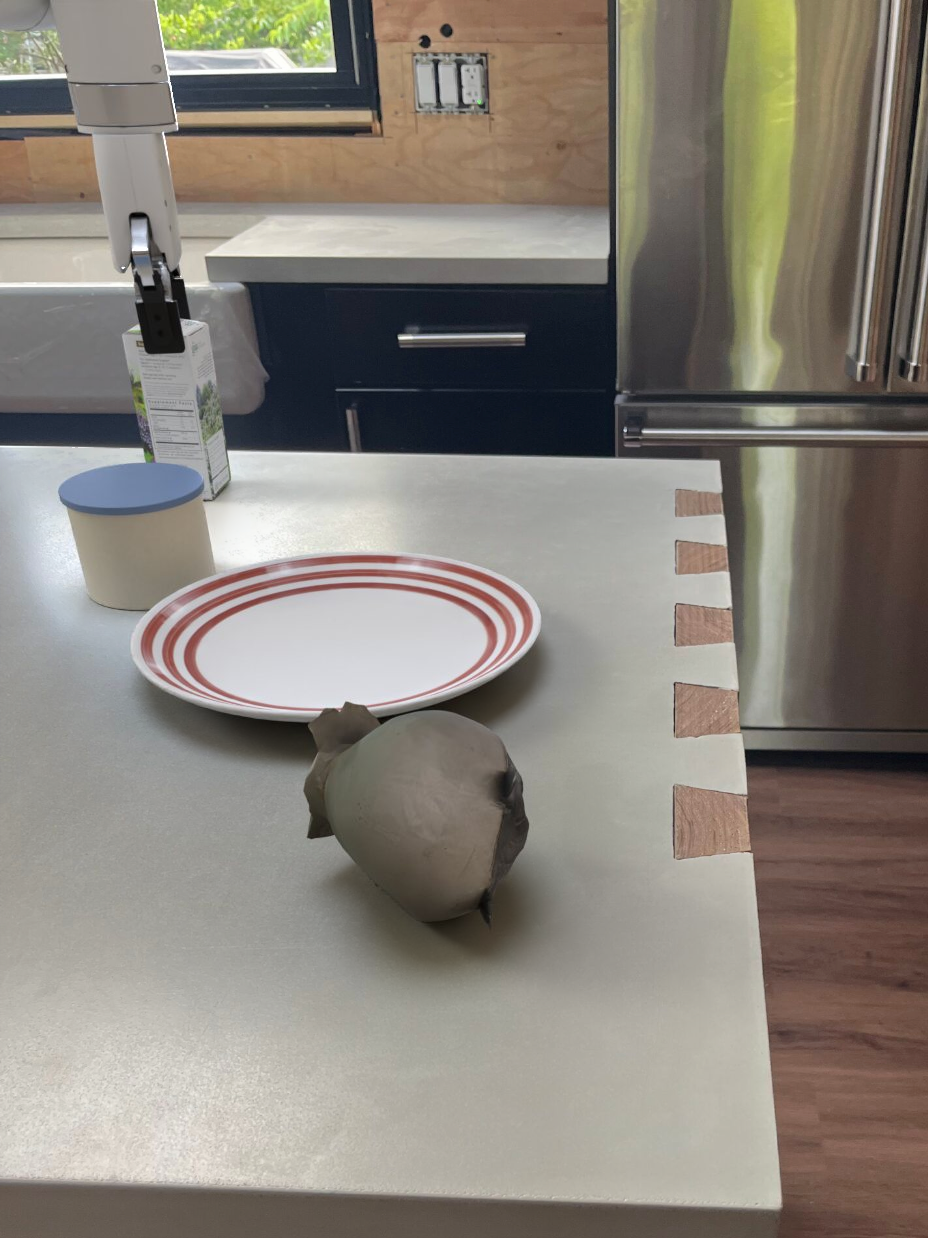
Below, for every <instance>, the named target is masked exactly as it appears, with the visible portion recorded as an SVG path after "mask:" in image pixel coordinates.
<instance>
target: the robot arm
mask: <svg viewBox="0 0 928 1238" xmlns="http://www.w3.org/2000/svg"><path fill="white" fill-rule="evenodd" d="M158 11H159V10H158V6H157V0H0V32H1V31H3V32H5V31H15V32H47V31H56V33H57V38H58V43H59V48H60V53H61V57H62V61H63V66H64V70H65V76H66V80H67V82H68V83H67V86H68V91H69V96H70V99H71V104H72V109H73V113H74V117H75V118H74V119H75V122H76V128H77V131H78V133H81V134H89V135H91V136H92V137H91V138H92V147H93V148H92V149H93V156H94V163H95V169H96V175H97V182H98V188H99V193H100V197H101V199H100V200H101V204H102V209H103V214H104V220H105V226H106V231H107V237H108V242H109V248H110V253H111V259H112V264H113V268H114V269H115V271H117V272H118V273H119V274H125V273H126V272H127V270H128V268H129V267H131V275H132V283H133V289H134V291H133V292H134V297H135V301H134V306H135V310H136V315H137V320H138V324H139V325H140V330H141V335H142V339H143V344H144V349H145V352H146V353H147V354H173V353H183V352H184V351H185V342H184V337H183V332H182V327H181V321H180V319H187V320H192V317H191V312H190V307H189V300H188V296H187V291H186V285H185V280H184V278H182V275H181V267H180V261H181V259H182V255H183V253H182V252H183V250H182V249H183V248H182V239H181V231H180V222H179V214H178V207H177V201H176V194H175V189H174V183H173V178H172V171H171V167H170V166H171V165H170V159H169V156H168V155H169V154H168V150H167V144H166V138H165V134H167V133H173V132H178V131H179V126H178V125H179V124H178V119H177V114H176V113H177V112H176V108H175V103H174V97H173V92H172V85H171V82H170V81H171V80H170V76H169V75H170V74H169V68H168V64H167V58H166V53H165V52H166V51H165V47H164V41H163V35H162V29H161V24H160V23H161V22H160V18H159V12H158Z"/></svg>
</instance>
